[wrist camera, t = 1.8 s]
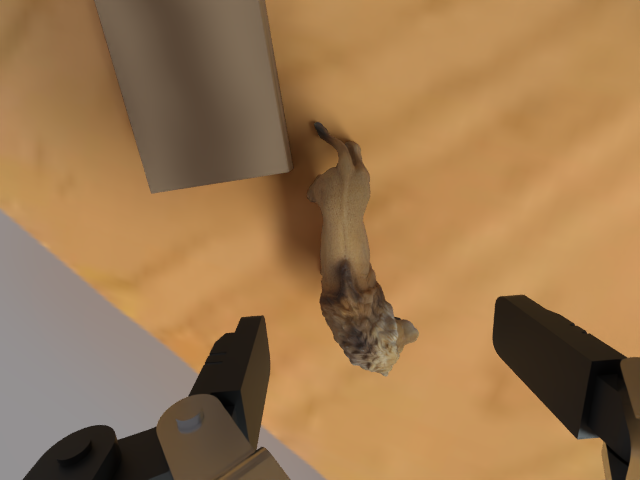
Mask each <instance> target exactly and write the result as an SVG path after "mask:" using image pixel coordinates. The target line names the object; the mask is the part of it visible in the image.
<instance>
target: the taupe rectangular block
mask: <svg viewBox="0 0 640 480" xmlns="http://www.w3.org/2000/svg"><path fill="white" fill-rule="evenodd" d="M94 1H95V4H96V8H97V11H98V15H99V18H100V21H101V25H102V28H103V32H104V35H105V38H106V42H107V45H108V49H109V52H110V55H111V59H112V62H113V66H114V69H115V72H116V76H117V79H118V83H119V86H120V89H121V93H122V96H123V100H124V103H125V106H126V110H127V113H128V116H129V120H130V123H131V127H132V130H133V133H134V137H135V140H136V144H137V147H138V150H139V154H140V157H141V161H142V164H143V167H144V171H145V174H146V178H147V181H148V184H149V188H150V191H151V194H152V193H158V192H165V191H171V190H177V189H184V188H190V187H197V186H203V185H209V184H216V183H222V182H229V181H235V180H241V179H248V178H254V177H261V176H267V175H273V174H280V173H286V172H289V171H291V170H292V169H293V162H292V156H291V151H290V145H289V139H288V133H287V127H286V121H285V115H284V109H283V104H282V98H281V92H280V86H279V80H278V74H277V68H276V62H275V57H274V51H273V45H272V39H271V33H270V27H269V21H268V15H267V9H266V4H265V0H94Z"/></svg>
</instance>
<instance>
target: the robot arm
mask: <svg viewBox="0 0 640 480" xmlns="http://www.w3.org/2000/svg"><path fill="white" fill-rule="evenodd" d="M493 345H494V348H495V350H496V352H497V354H498V355H499V357H500V358H501V359H502V360H503V361H504V362H505V363H506V364H507V365H508V366H509V367H510V368H511V369H512V370H513V372H514V373H515V374H516V375H517V376H518V377H519V378H520V379H521V380H522V381H523V382H524V383H525V384H526V385H527V386H528V387H529V388H530V390H531V391H532V392H533V393H534V394H535V395H536V396H537V397H538V398H539V399H540V400H541V401H542V402H543V403H544V404H545V405H546V407H547V408H548V409H549V410H550V411H551V412H552V413H553V414H554V415H555V416H556V417H557V418H558V419H559V420H560V421H561V422H562V423H563V425H564V426H565V427H566V428H567V429H568V430H569V431H570V432H571V433H572V434H573V435H574V436H575V437H576V438H577V439H587V438H599V437H600V438H601V439H602V440H603V441H604V442H603V447H602V460H603V467H604V473H605V480H640V357H630V358H627V357H626V356H624V355H622V354H621V353H619V352H618V351H616V350H615V349H613V348H612V347H610V346H608V345H607V344H605V343H604V342H602V341H601V340H599V339H597V338H596V337H594V336H593V335H591V334H590V333H589V334H587V332H586V331H585V330H583V329H582V328H580V327H579V326H575V324H574V323H572V322H571V321H569V320H568V319H566V318H565V317H563V316H561V315H559V314H557V313H554V312H552V311H549V310H547V309H545V308H543V307H542V306H540V305H539V304H537V303H536V302H534V301H533V300H531V299H530V298H528V297H527V296H525V295H513V296H501V297H498V298H497V300H496V303H495V313H494V325H493ZM269 376H270V353H269V346H268V338H267V330H266V323H265V318H264V316H263V315H262V316H250V317H241V319H240V321H239V324H238V326H237V328H236V331H235V333H225V334H224V335H223V336H222V337H221V338H220V339H219V340H218V341H216V342H215V344H214V346H213V348H212V350H211V352H210V356H208V358H207V360H206V362H205V365H204V366H203V368H202V370H201V372H200V374H199V376H198V378H197V380H196V382H195V384H194V386H193V388H192V390H191V392H190V394H189V396H188V397H186V398H184V399H182V400H180V401H178V402H176V403H175V404H173V405H172V406H171V407H170V408H168V409H167V410H166V411H165V412H164V414H163V415H162V416H161V417H160V420H159V421H158V424H157V426H156V427H154V428H152V429H149V430H146V431H143V432H140V433H138V434H134V435H132V436H128V437H125V438H122V439H119V440H117V438H116V435H115V431H114V430H113V429H112V428H111V427H109V426H106V425H95V426H90V427H87V428H84V429H81V430H78V431H76V432H74V433H72V434H70V435H68V436H67V437H65V438H63V439H62V440H60V441H59V442H57V443H56V444H55V445H53V446H52V447H51V448H50V449H49V450H48V451H47V452H46V453H44V455H43V456H42V457H41V458H40V459H39V460H38V461H37V463H36V464H35V465H34V467H33V468H32V469H31V470H30V471H29V473H28V474H27V475H26V476H25V477H24V479H23V480H290V479H289V477H288V476H287V475H286V473H285V472H284V470H283V469H282V468H281V467H280V465H279V464H278V463H277V461H276V460H275V459H274V457H273V456H272V455H271V453H270V452H269V451H268V450H267V449H266V448H264V447H261V448H259V449H258V450H256V449H257V443H258V437H259V432H260V427H261V421H262V415H263V410H264V404H265V398H266V393H267V387H268V382H269Z"/></svg>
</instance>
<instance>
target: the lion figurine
mask: <svg viewBox="0 0 640 480" xmlns="http://www.w3.org/2000/svg"><path fill="white" fill-rule="evenodd" d="M314 126H315V129H316V130H317V133H318V135H319V137H320V138H321V139H323V140H325V141H326V142H327V143H329V144H331V145H332V146H333V147H334V148H335V149H336V150H337V152H338V157H339V160H338V163H337V166H336V167H333V168H330V169H329V170H327V171H326V172H325V173H324V174H322V175H321V174H320V175H318V176H317V178H316V179H315V181H314V183H313V184H312V185H311V186H310V188H309V190H308V192H307V198H308V199H309V200H310V201H311V202H317V204H318V205H319V206H320V208H321V212H322V215H323V227H322V233H321V250H320V260H321V267H322V268H321V275H322V277H323V278H322V281H321V283H322V293H321V297H320V305H321V310H322V315H323V316H324V317H325V320H326V322H327V324H328V326H329V327H330V328H331V331H332V332H333V335H334V340H335V341H336V342H337V343H339V345H340V347H341V348H342V349H343V350H344V353H345V355H346V356H347V357H348V358H349V359H350V362H351V364H353V365H358V366H360V367H361V368H363V369H365V370H369V371H371V372H377V373H381V374H382V375H384V376H388V372H389V371H391V370H392V365H394V364H395V363H396V361H397V360H398V359H399V353H401V352H402V350H403V348H404V345H406V344H408V343H412V342H415V341H416V340H417V338H418V336H419V332H418V330H417V329H416V328H414V326H413V324H412V323H411V322H410V321H408V320H404V319H403V320H401V319H400V318H397V317H394V314H393V308H392V306H391V304H389V303H388V302H386V300H385V297H384V294H383V291H382V288H381V286H380V285H379V284H378V282H377V281H376V275H375V272H374V270H373V269H372V266H371V264H370V250H369V244H368V238H367V234H366V230H365V226H364V223H363V215H364V212H365V209H366V206H367V204H368V201H369V198H370V185H369V182H370V176H369V173H368V171H367V169H366V168H365V166H364V164H363V162H362V157H361V148H360V146H359V145H358V144H357V143H355V142H353V141H349V142H346V143H345V144H344V143H343V142H342V141H341V140H339V139H337V138H335V137H333V136H331V135H330V134H329V133H328V132H327V129H326V128H324V126H323V125H322V124H321V123H319V122H316V123H315V124H314Z"/></svg>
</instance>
